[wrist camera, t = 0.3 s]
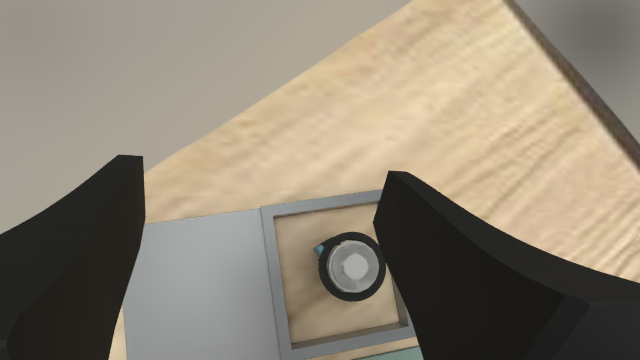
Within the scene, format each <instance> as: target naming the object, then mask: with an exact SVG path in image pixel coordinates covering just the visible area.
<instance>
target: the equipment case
mask: <svg viewBox="0 0 640 360" xmlns="http://www.w3.org/2000/svg"><path fill="white" fill-rule="evenodd" d="M382 191H383V190H375V191H368V192H361V193H354V194H347V195H340V196H333V197H326V198H319V199H311V200H304V201H297V202H290V203H283V204H276V205H269V206H262V207H261V208H259V209H251V210H244V211H237V212H230V213H223V214H216V215H209V216H202V217H195V218H188V219H181V220H174V221H167V222H159V223H152V224H145V225H144V229H143V235H142V240H141V246H140V250H139V253H138V256H137V259H136V262H135V266H134V269H133V272H132V275H131V278H130V281H129V284H128V287H127V290H126V294H125V297H124V300H123V315H124V327H125V339H126V351H127V360H305V359H310V358H315V357H320V356H324V355H329V354H334V353H339V352H344V351H348V350H353V349H358V348H363V347H368V346H373V345H377V344H382V343H387V342H392V341H397V340H401V339H406V338H411V337H416V333H415V330H414V327H413V324H412V321H411V318H410V316H409V313H408V311H407V308H406V306H405V304H404V301H403V299H402V297H401V295H400V293H399V290H398V288H397V286H396V284H395V282H394V279H393V277H392V282H393V287H394V293H395V298H396V304H397V309H398V315H399V320H400V322H399V323H394V324H389V325H384V326H379V327H374V328H369V329H364V330H359V331H354V332H349V333H344V334H339V335H334V336H329V337H324V338H319V339H314V340H309V341H304V342H299V343H294V344H291V341H290V334H289V326H288V319H287V312H286V305H285V298H284V291H283V284H282V277H281V270H280V263H279V256H278V249H277V242H276V235H275V227H274V220H273V218H276V217H283V216H290V215H297V214H304V213H311V212H318V211H324V210H331V209H338V208H345V207H352V206H359V205H365V204H372V203H378V204H379V201H380V198H381V194H382ZM391 276H392V275H391Z"/></svg>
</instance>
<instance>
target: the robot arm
mask: <svg viewBox="0 0 640 360" xmlns="http://www.w3.org/2000/svg"><path fill="white" fill-rule="evenodd" d="M144 223H145V193H144V170H143V156H133V155H117V156H116V157H115V158H114V159H112V160H111V161H110V162H109V163H107V164H106V165H105V166H104V167H102V168H101V169H100V170H99V171H97V172H96V173H95V174H94V175H93V176H91V177H90V178H89V179H88V180H86V181H85V182H84V183H82V184H81V185H80V186H79V187H77V188H76V189H75V190H73V191H72V192H71V193H69V194H68V195H66V196H65V197H63V198H62V199H60V200H59V201H57V202H56V203H54V204H53V205H51V206H50V207H48V208H47V209H45V210H44V211H42V212H40V213H39V214H37V215H35V216H34V217H32V218H30V219H28V220H27V221H25V222H23V223H21V224H19V225H17V226H16V227H14V228H12V229H10V230H8V231H6V232H4V233H2V234H0V360H108V359H109V354H110V349H111V344H112V339H113V334H114V330H115V326H116V323H117V319H118V315H119V312H120V309H121V306H122V303H123V300H124V297H125V294H126V290H127V287H128V284H129V281H130V278H131V275H132V272H133V269H134V266H135V262H136V259H137V256H138V253H139V250H140V246H141V240H142V235H143V229H144ZM373 225H374V229H375V233H376V236H377V240H378V243H379V247H380V250H381V252H382V255H383V257H384V259H385V261H386V264H387V266H388V268H389V270H390V273H391V275H392V277H393V279H394V282H395V284H396V286H397V288H398V290H399V293H400V295H401V297H402V299H403V301H404V304H405V306H406V308H407V311H408V313H409V316H410V318H411V321H412V324H413V327H414V330H415V333H416V337H417V340H418V343H419V346H420V349H421V353H422V356H423V359H424V360H640V283H637V282H634V281H630V280H627V279H623V278H620V277H616V276H613V275H609V274H606V273H602V272H599V271H596V270H593V269H590V268H587V267H584V266H581V265H579V264H576V263H573V262H570V261H567V260H565V259H562V258H560V257H557V256H554V255H552V254H550V253H547V252H545V251H543V250H540V249H538V248H536V247H533V246H531V245H529V244H527V243H525V242H522V241H520V240H518V239H516V238H514V237H512V236H510V235H508V234H507V233H505V232H503V231H501V230H499V229H497V228H495V227H493V226H492V225H490V224H488V223H486V222H485V221H483V220H481V219H480V218H478V217H476V216H475V215H473V214H471V213H470V212H468V211H467V210H465V209H464V208H462V207H461V206H459V205H457V204H456V203H454V202H453V201H451V200H450V199H449V198H447V197H446V196H444V195H443V194H441V193H440V192H438V191H437V190H435V189H434V188H432V187H431V186H429V185H428V184H426V183H425V182H423V181H422V180H420V179H419V178H417V177H415V176H414V175H412V174H410V173H408V172H403V171H388V175H387V178H386V181H385V184H384V188H383V191H382V194H381V198H380V201H379V204H378V207H377V211H376V214H375V217H374V221H373Z"/></svg>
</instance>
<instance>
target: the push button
mask: <svg viewBox="0 0 640 360" xmlns="http://www.w3.org/2000/svg"><path fill="white" fill-rule="evenodd" d="M345 240H353V241H348V242H344V243H342V244H340V242H342V241H345ZM314 250H315V252H316V254H317V255H318V257H319V259H318V260H319V267H318V270H319V274H320V278H321V280H322V283H323V284H324V286H325V287H326V289H327V290H328V291H329V292H330V293H331V294H332V295H334V296H335V297H337V298H339V299H341V300H345V301H350V302H353V303H355V302H357V301H361V300H365V299H367V298H369V297H370V296H372V295H373V294H374V293H375V292H376V291H377V290H378V289H379V288H380V286H381V285H382V283H383V280H384V278H385V273H386V261H385V259H384V257H383V255H382V252H381V250H380V247H379V245H378V244H377V243H376V242H375V241H374V240H373V239H372V238H370V237H369V236H367V235H365V234H362V233H358V232H346V233H342V234H339V235H337V236H335V237H331V238H330V239H328V240H326V241H325V242H323V243H321V244H320V245H318V246H316V247H314ZM331 281H333V283H334V285H335V286H334V285H333V283H332V282H331Z"/></svg>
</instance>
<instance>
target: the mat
mask: <svg viewBox="0 0 640 360" xmlns="http://www.w3.org/2000/svg"><path fill="white" fill-rule="evenodd" d="M353 360H424V359H423V356H422V353H421V349H420V346H415V347H410V348H405V349H401V350H396V351H391V352H386V353H382V354H377V355H372V356H368V357H363V358H358V359H353Z"/></svg>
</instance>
